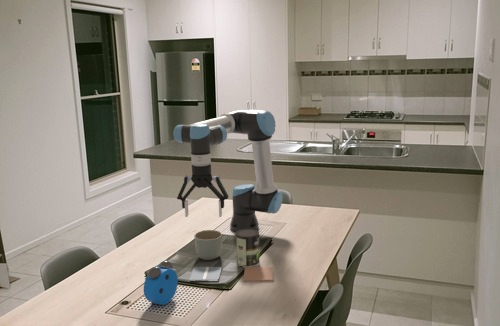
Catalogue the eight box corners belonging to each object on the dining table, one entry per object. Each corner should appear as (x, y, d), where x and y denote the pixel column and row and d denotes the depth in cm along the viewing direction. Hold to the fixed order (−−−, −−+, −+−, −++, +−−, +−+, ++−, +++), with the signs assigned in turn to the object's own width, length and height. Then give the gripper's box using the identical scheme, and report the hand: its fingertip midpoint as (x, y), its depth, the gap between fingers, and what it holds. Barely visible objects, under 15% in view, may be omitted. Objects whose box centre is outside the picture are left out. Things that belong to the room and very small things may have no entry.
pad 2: (245, 268, 199) (245, 266, 198) (273, 268, 198) (273, 266, 198) (243, 281, 187) (243, 279, 187) (273, 281, 186) (273, 279, 186)
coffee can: (261, 258, 208) (261, 229, 205) (257, 268, 198) (256, 237, 195) (239, 257, 210) (238, 227, 207) (233, 267, 201) (232, 236, 198)
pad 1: (194, 268, 200) (193, 266, 199) (221, 268, 199) (221, 266, 199) (189, 281, 188) (189, 279, 188) (218, 281, 187) (218, 279, 187)
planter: (226, 253, 215) (226, 231, 213) (216, 264, 203) (215, 241, 201) (202, 250, 219) (201, 228, 217) (190, 261, 207) (189, 238, 205)
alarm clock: (166, 292, 180) (164, 256, 176) (179, 295, 177) (177, 259, 174) (144, 308, 168) (141, 269, 165) (157, 312, 165) (155, 273, 162)
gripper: (167, 166, 179) (170, 219, 183) (232, 165, 177) (233, 218, 182) (171, 162, 186) (175, 212, 190) (233, 161, 184) (235, 212, 189)
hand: (203, 215), depth 186 cm, fingers open, 13 cm apart
